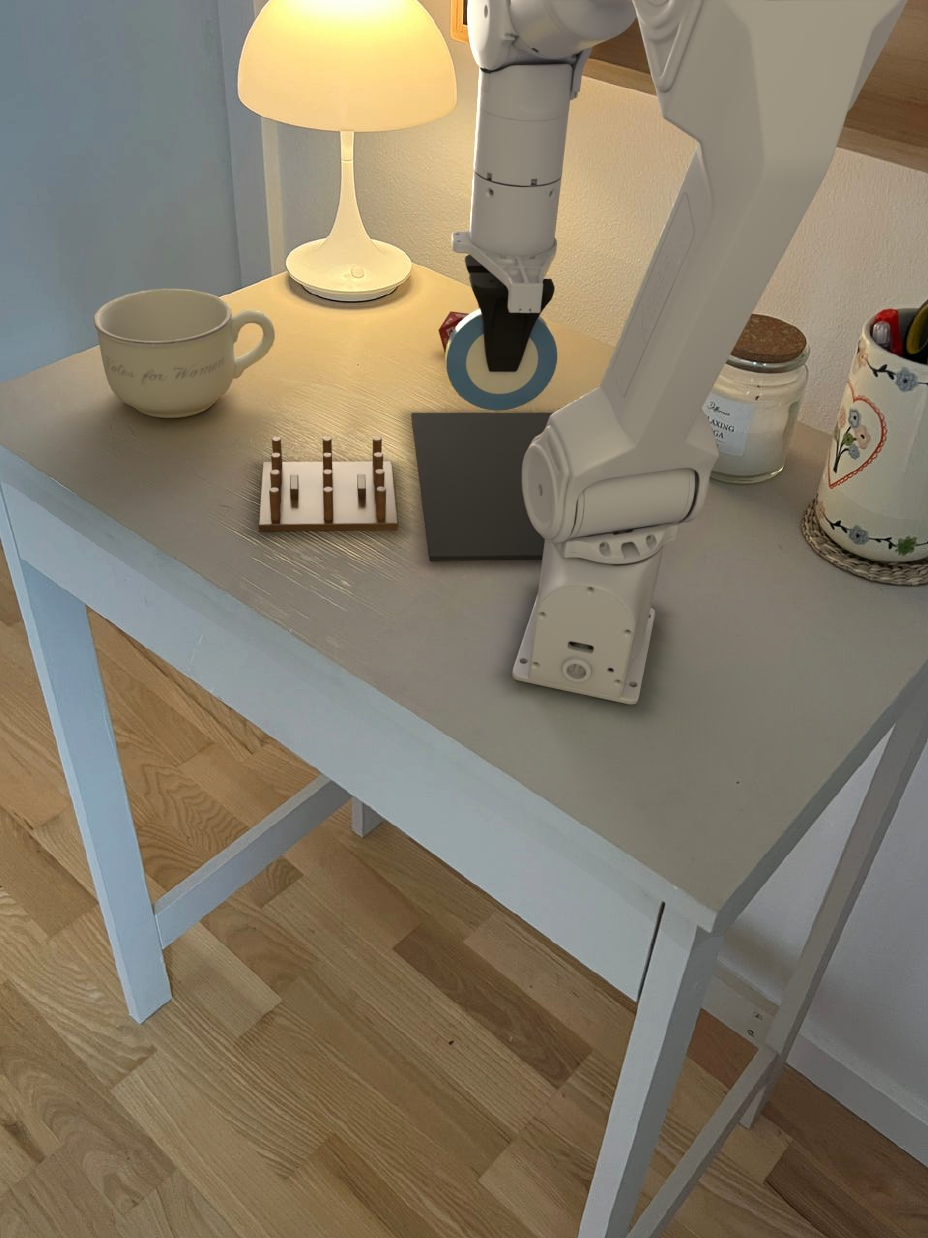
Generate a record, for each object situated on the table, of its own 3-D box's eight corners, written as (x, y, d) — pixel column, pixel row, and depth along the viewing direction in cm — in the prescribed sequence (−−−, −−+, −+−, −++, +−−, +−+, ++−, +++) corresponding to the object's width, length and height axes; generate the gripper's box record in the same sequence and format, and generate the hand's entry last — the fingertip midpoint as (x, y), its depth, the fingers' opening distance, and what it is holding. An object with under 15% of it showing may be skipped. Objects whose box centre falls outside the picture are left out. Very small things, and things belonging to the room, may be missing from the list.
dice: (482, 346, 106) (485, 305, 103) (475, 368, 103) (478, 326, 100) (443, 340, 106) (445, 300, 104) (434, 362, 103) (436, 321, 100)
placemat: (622, 558, 82) (623, 553, 82) (429, 561, 80) (429, 556, 80) (574, 416, 97) (575, 412, 97) (411, 416, 95) (411, 412, 95)
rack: (397, 529, 83) (398, 494, 81) (259, 531, 82) (256, 495, 80) (391, 467, 89) (392, 433, 87) (263, 468, 88) (260, 433, 86)
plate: (550, 411, 84) (564, 310, 79) (443, 410, 83) (450, 307, 78) (548, 404, 85) (561, 303, 80) (441, 403, 84) (448, 300, 79)
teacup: (95, 431, 91) (79, 338, 86) (121, 366, 99) (108, 278, 94) (270, 436, 92) (265, 345, 86) (282, 372, 100) (278, 285, 95)
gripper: (445, 133, 78) (437, 318, 87) (467, 212, 67) (455, 414, 76) (546, 135, 79) (528, 318, 87) (584, 214, 68) (559, 414, 76)
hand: (500, 363), depth 82 cm, fingers closed on plate, 1 cm apart
